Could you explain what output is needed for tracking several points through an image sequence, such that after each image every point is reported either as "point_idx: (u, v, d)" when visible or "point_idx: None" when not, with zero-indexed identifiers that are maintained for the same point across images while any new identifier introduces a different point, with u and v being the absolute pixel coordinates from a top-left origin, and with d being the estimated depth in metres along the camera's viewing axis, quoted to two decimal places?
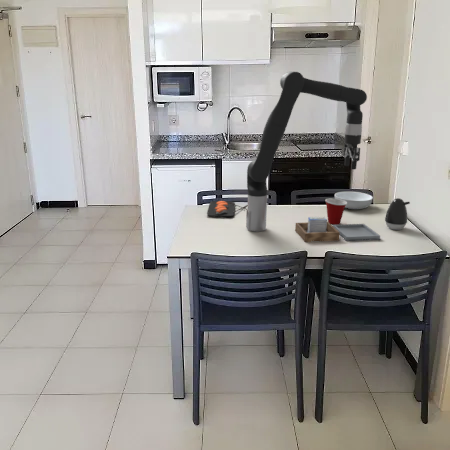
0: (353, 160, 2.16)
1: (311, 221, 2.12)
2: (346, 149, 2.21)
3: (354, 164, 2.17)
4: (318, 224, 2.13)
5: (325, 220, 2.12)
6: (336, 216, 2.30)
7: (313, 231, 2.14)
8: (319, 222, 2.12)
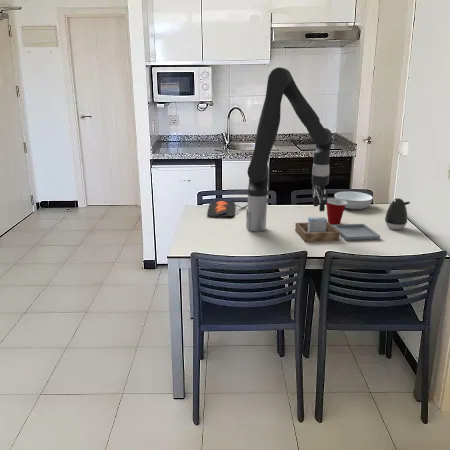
0: None
1: (311, 221, 2.12)
2: (314, 189, 2.11)
3: (322, 206, 2.07)
4: (318, 224, 2.13)
5: (325, 220, 2.12)
6: (336, 216, 2.30)
7: (313, 231, 2.14)
8: (319, 222, 2.12)
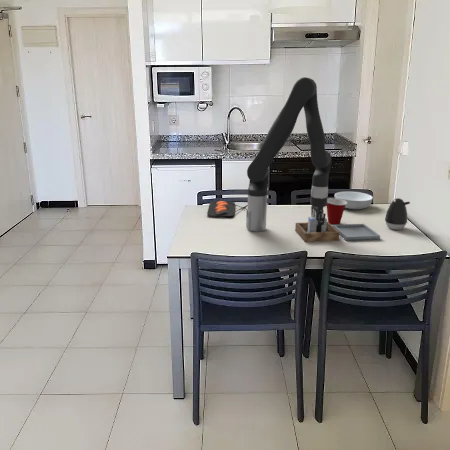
0: None
1: (311, 221, 2.12)
2: (313, 211, 2.14)
3: (319, 228, 2.12)
4: None
5: (325, 220, 2.12)
6: (336, 216, 2.30)
7: (313, 231, 2.14)
8: None
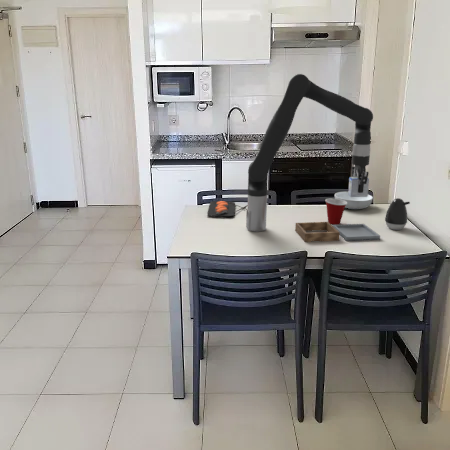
0: (360, 183, 2.07)
1: (353, 180, 2.08)
2: (354, 170, 2.11)
3: (361, 187, 2.08)
4: None
5: (367, 179, 2.09)
6: (336, 216, 2.30)
7: (355, 191, 2.10)
8: None
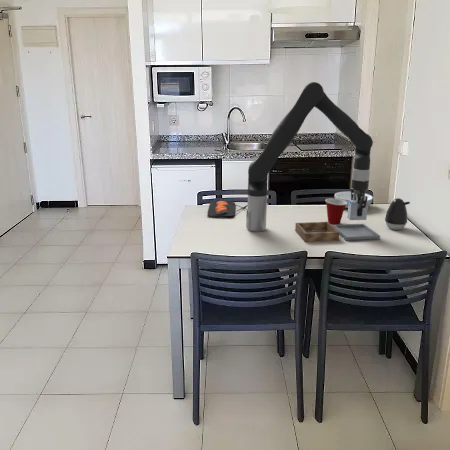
0: None
1: (352, 204, 2.12)
2: (353, 194, 2.14)
3: (360, 211, 2.12)
4: None
5: (366, 203, 2.12)
6: (336, 216, 2.30)
7: (354, 214, 2.14)
8: None
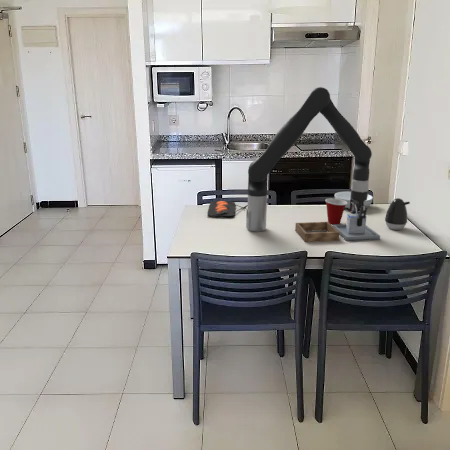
0: (359, 217, 2.12)
1: (351, 218, 2.14)
2: (352, 204, 2.16)
3: (360, 221, 2.12)
4: None
5: (365, 217, 2.14)
6: (336, 216, 2.30)
7: (353, 228, 2.16)
8: None
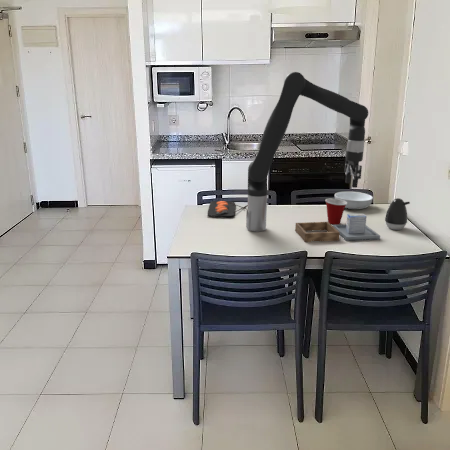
0: (354, 178, 2.08)
1: (351, 218, 2.14)
2: (347, 166, 2.13)
3: (355, 182, 2.09)
4: (358, 221, 2.15)
5: (365, 217, 2.14)
6: (336, 216, 2.30)
7: (353, 228, 2.16)
8: (359, 219, 2.14)
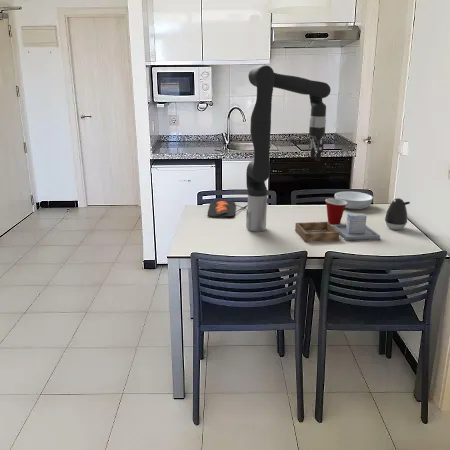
0: (317, 152, 2.21)
1: (351, 218, 2.14)
2: (311, 141, 2.26)
3: (318, 156, 2.21)
4: (358, 221, 2.15)
5: (365, 217, 2.14)
6: (336, 216, 2.30)
7: (353, 228, 2.16)
8: (359, 219, 2.14)
